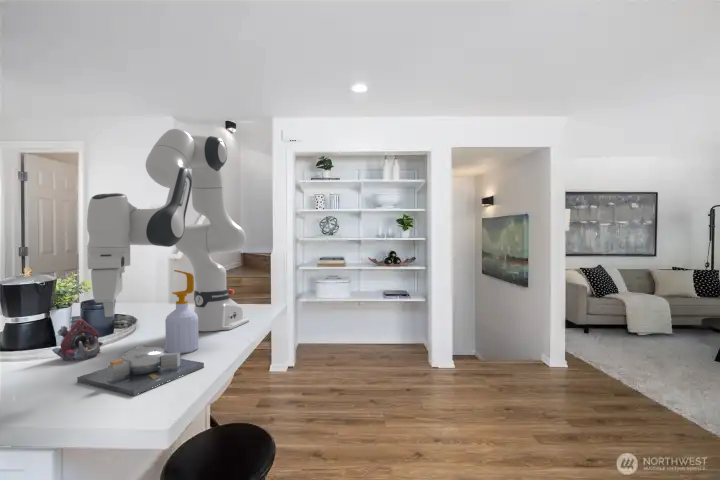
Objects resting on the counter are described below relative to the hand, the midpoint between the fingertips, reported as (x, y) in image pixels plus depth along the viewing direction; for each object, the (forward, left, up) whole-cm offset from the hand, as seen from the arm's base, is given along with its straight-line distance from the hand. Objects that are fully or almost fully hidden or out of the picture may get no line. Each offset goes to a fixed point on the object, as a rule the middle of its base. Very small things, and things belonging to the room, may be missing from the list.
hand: (109, 315), depth 95 cm
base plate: (-6, +4, -16) cm, 17 cm away
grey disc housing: (-4, +4, -14) cm, 15 cm away
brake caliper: (-8, -26, -16) cm, 31 cm away
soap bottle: (-25, -4, -16) cm, 30 cm away
